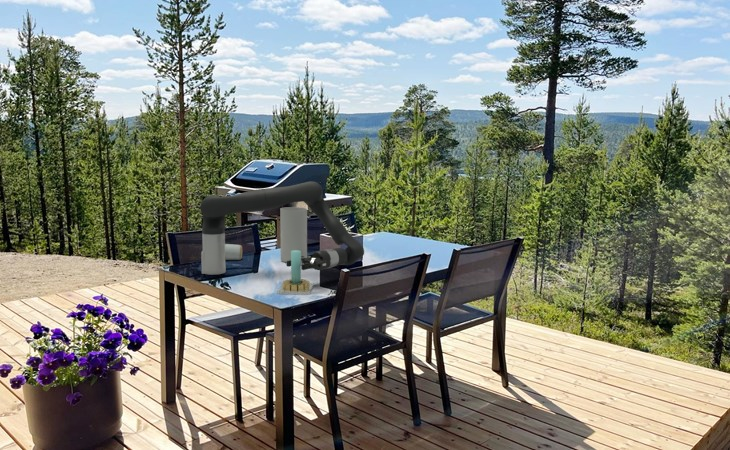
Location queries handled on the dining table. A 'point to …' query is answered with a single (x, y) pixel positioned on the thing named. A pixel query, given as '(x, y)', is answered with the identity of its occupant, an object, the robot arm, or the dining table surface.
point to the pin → (295, 267)
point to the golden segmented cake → (296, 287)
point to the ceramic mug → (233, 252)
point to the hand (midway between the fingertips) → (294, 265)
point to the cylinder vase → (293, 231)
